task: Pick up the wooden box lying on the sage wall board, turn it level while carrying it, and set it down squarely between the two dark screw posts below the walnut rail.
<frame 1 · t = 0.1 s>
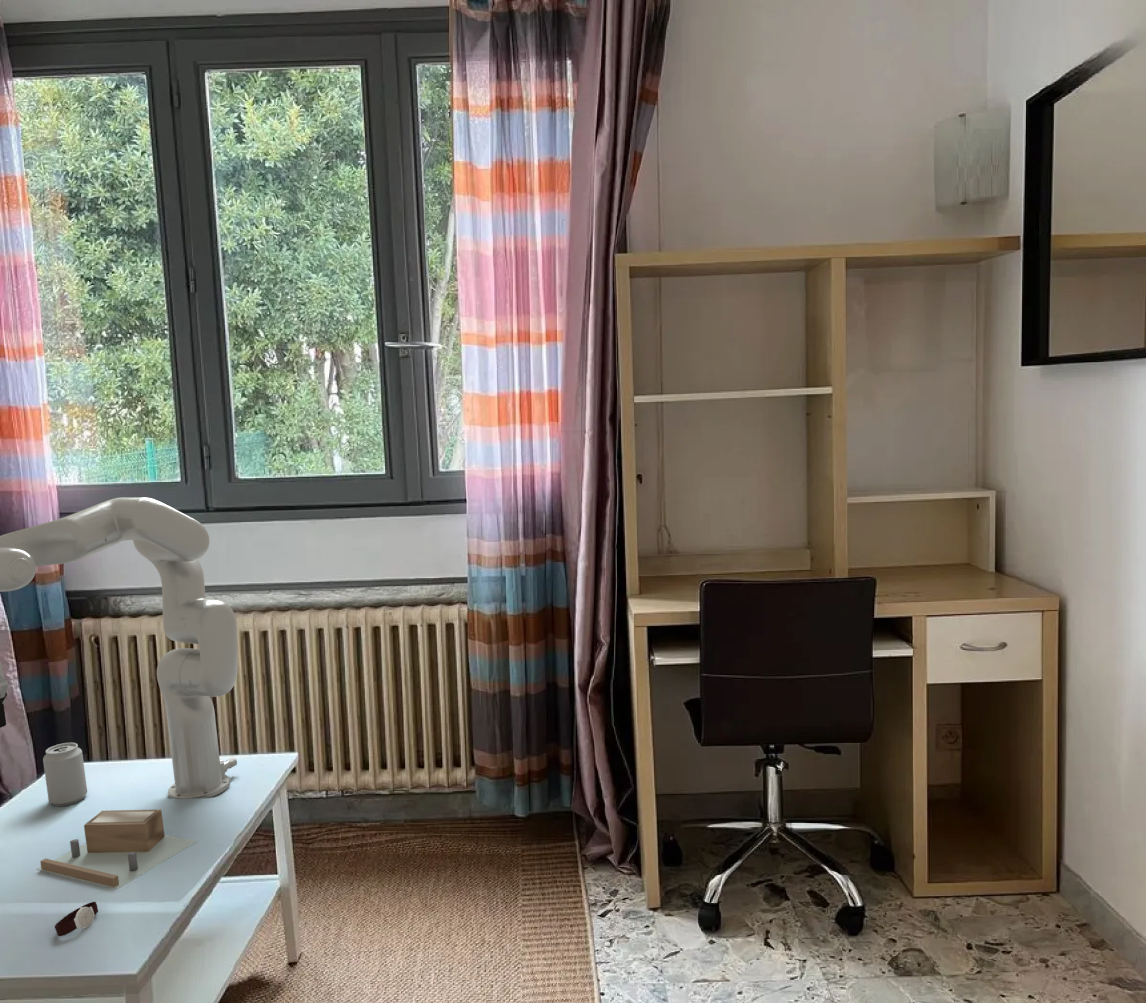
wall board: (119, 861, 178), on the table
watch: (77, 927, 157), on the table
can: (68, 800, 207), on the table
wooden box: (126, 844, 182), point 1 cm above the table, touching wall board
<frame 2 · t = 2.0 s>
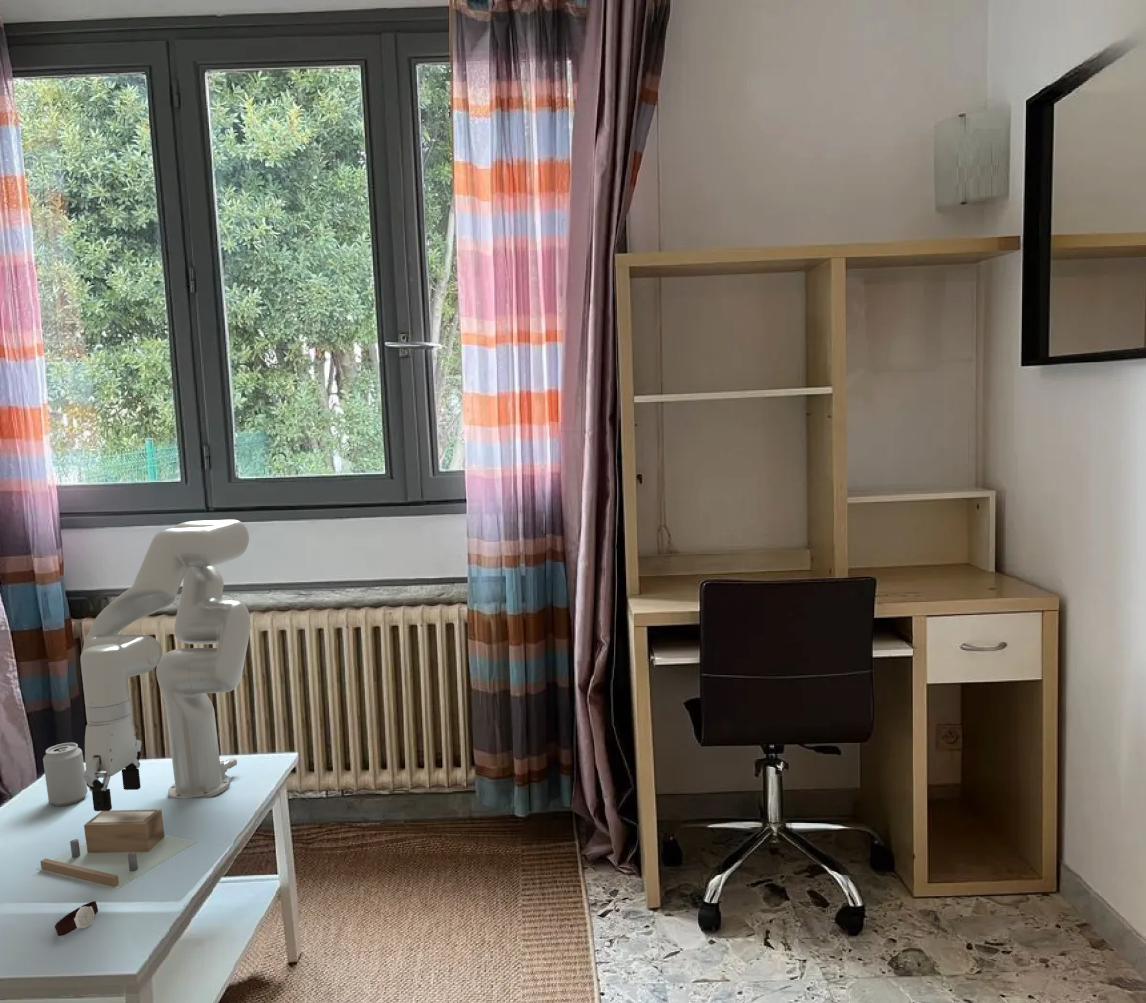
hand: (118, 799, 180), 11 cm above the table, tool pointing down, fingers open, 9 cm apart
nothing on the table moved.
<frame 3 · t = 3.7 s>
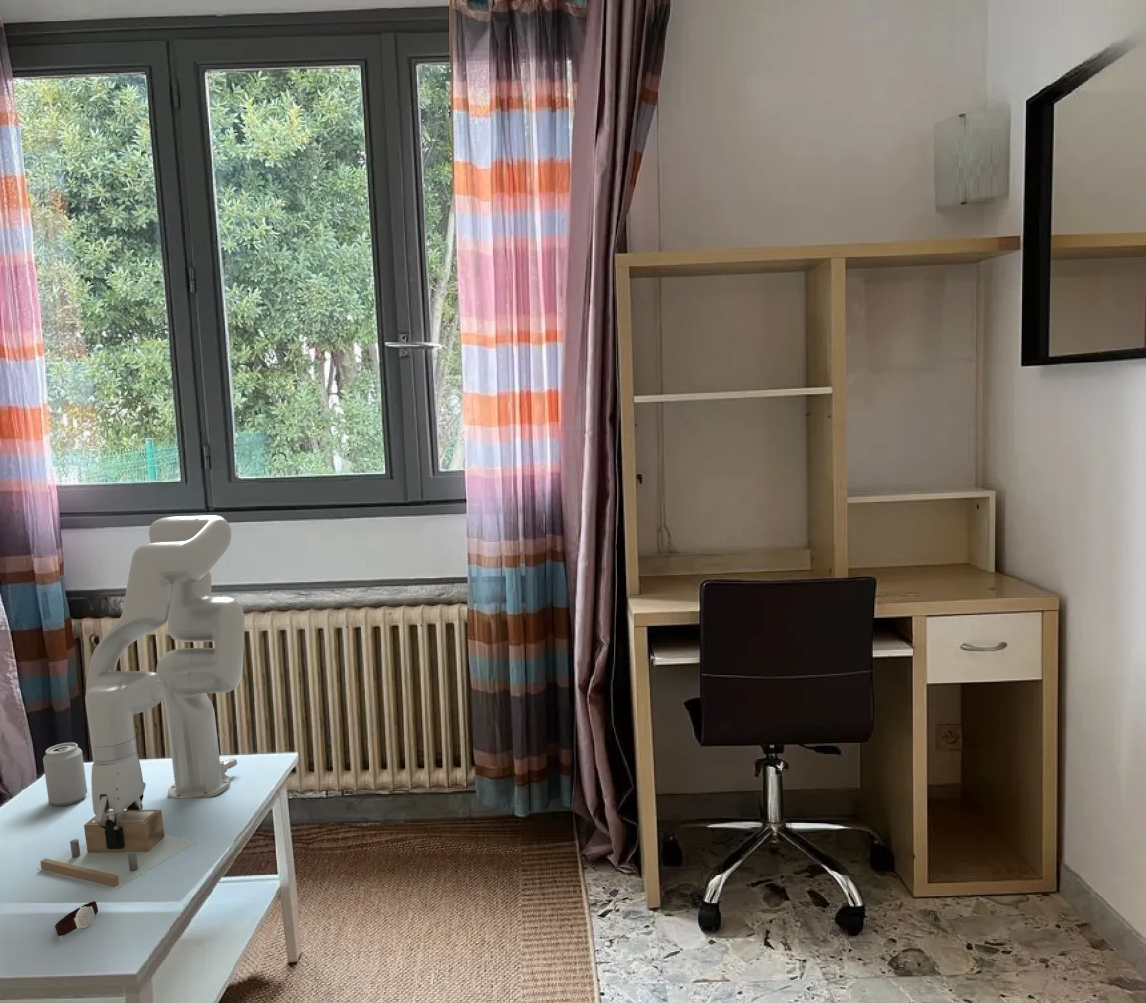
hand: (125, 838, 182), 2 cm above the table, tool pointing down, fingers closed on wooden box, 6 cm apart
wooden box: (126, 844, 182), point 1 cm above the table, touching gripper, wall board
everything else where it was.
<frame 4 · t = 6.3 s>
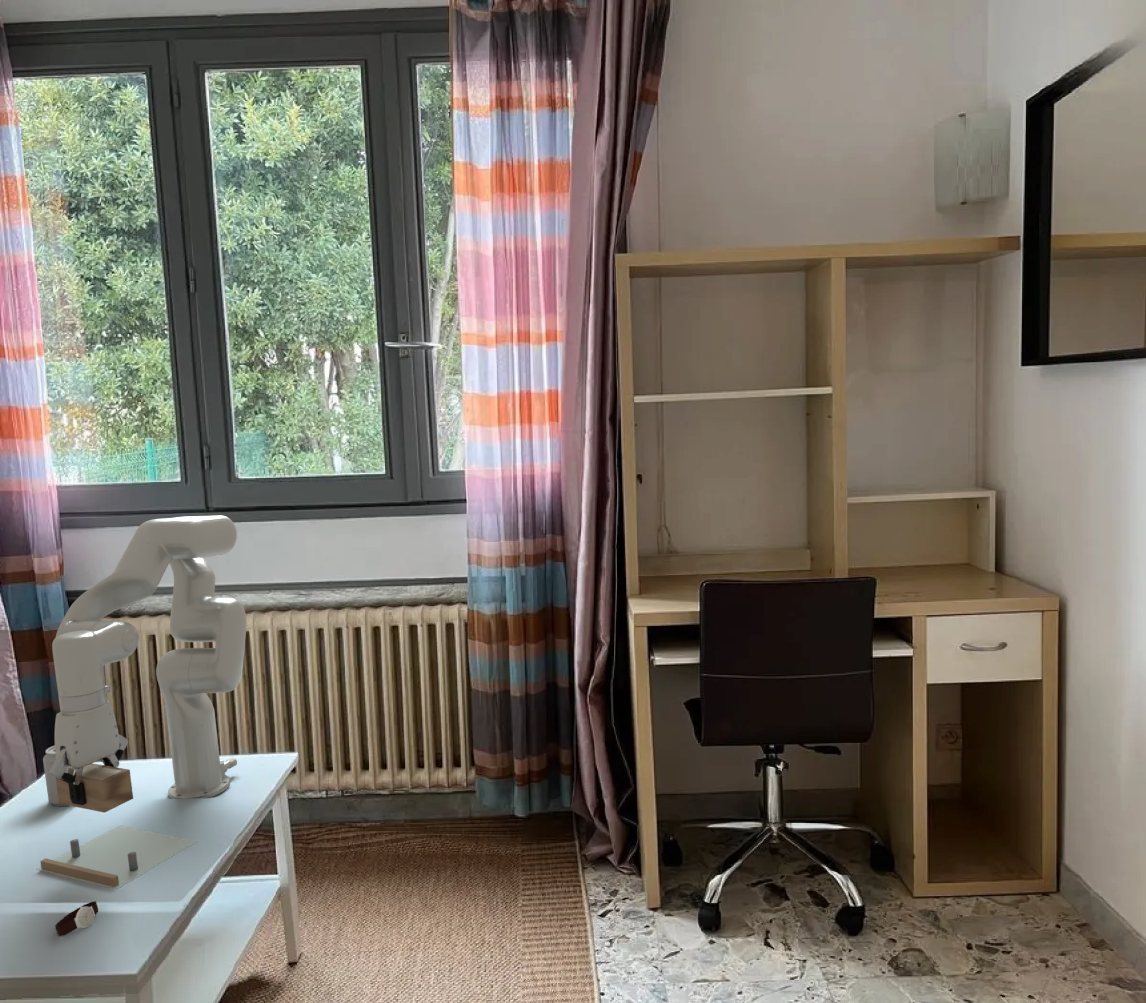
hand: (95, 795, 174), 14 cm above the table, tool pointing down, fingers closed on wooden box, 6 cm apart
wooden box: (96, 801, 174), point 13 cm above the table, touching gripper
everything else where it was.
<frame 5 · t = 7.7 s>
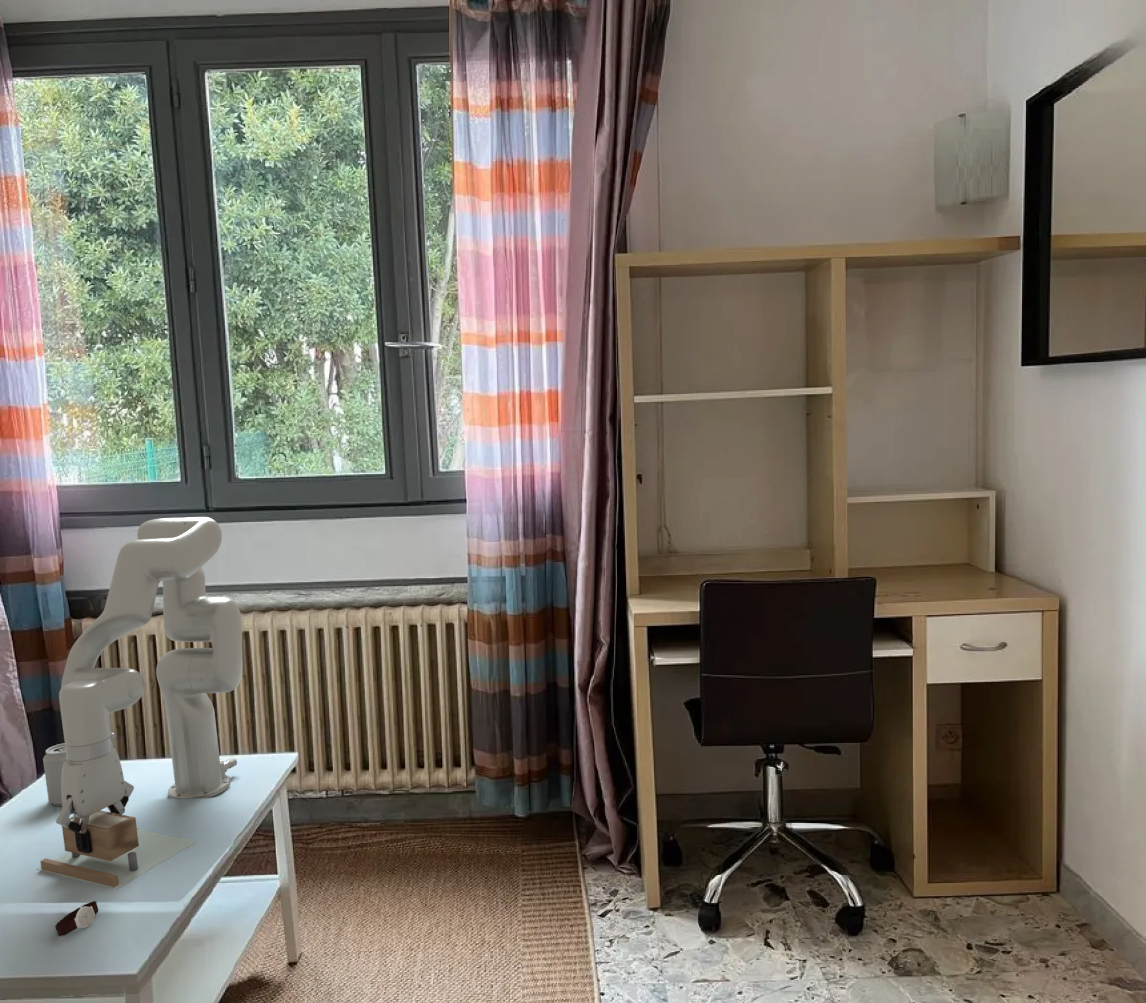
hand: (101, 842, 175), 5 cm above the table, tool pointing down, fingers closed on wooden box, 6 cm apart
wooden box: (102, 848, 175), point 4 cm above the table, touching gripper
everything else where it was.
when the fingers open (4 cm above the table, at t = 8.9 s): wooden box drops 1 cm, resting on wall board.
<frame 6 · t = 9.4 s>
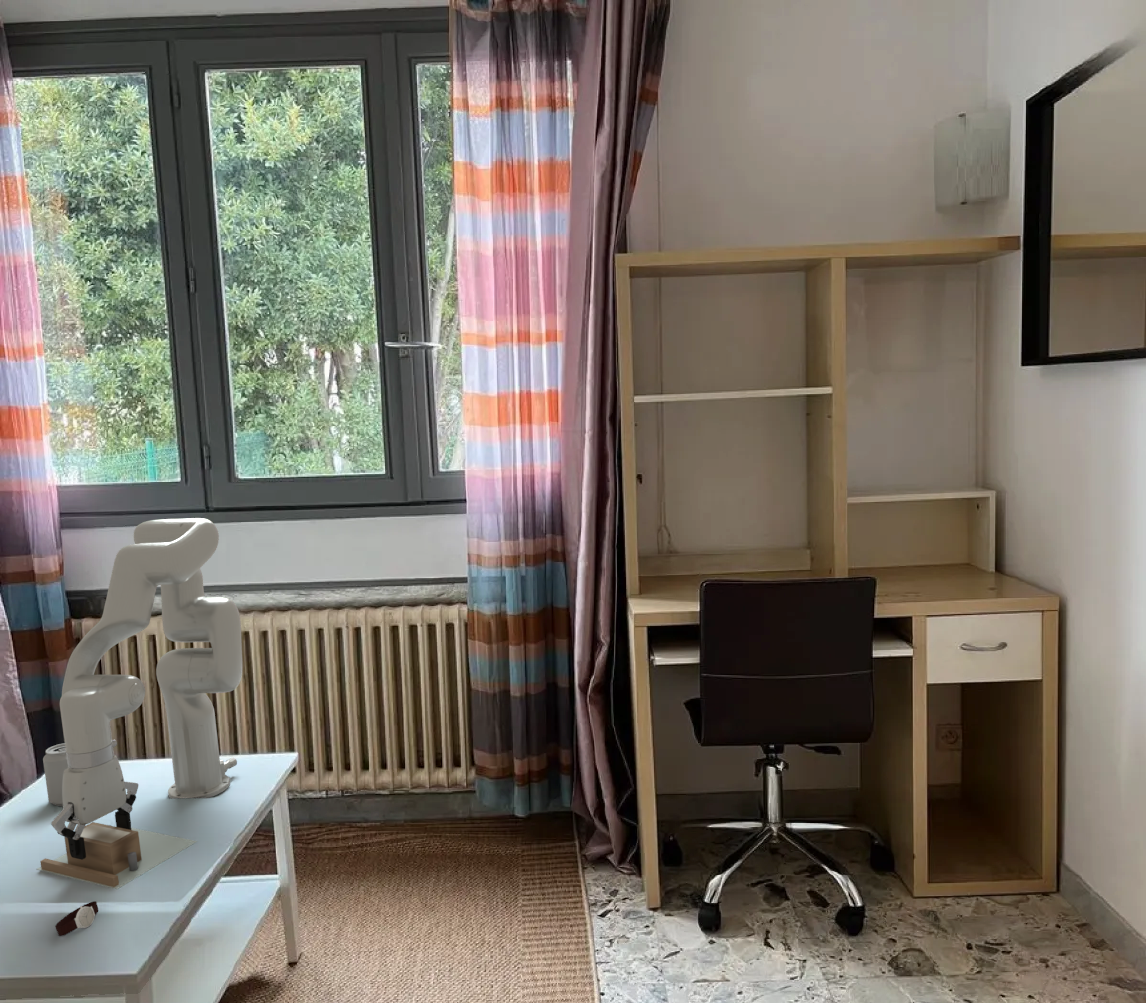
hand: (102, 845, 175), 5 cm above the table, tool pointing down, fingers open, 9 cm apart
wooden box: (105, 862, 175), point 1 cm above the table, touching wall board
everything else where it was.
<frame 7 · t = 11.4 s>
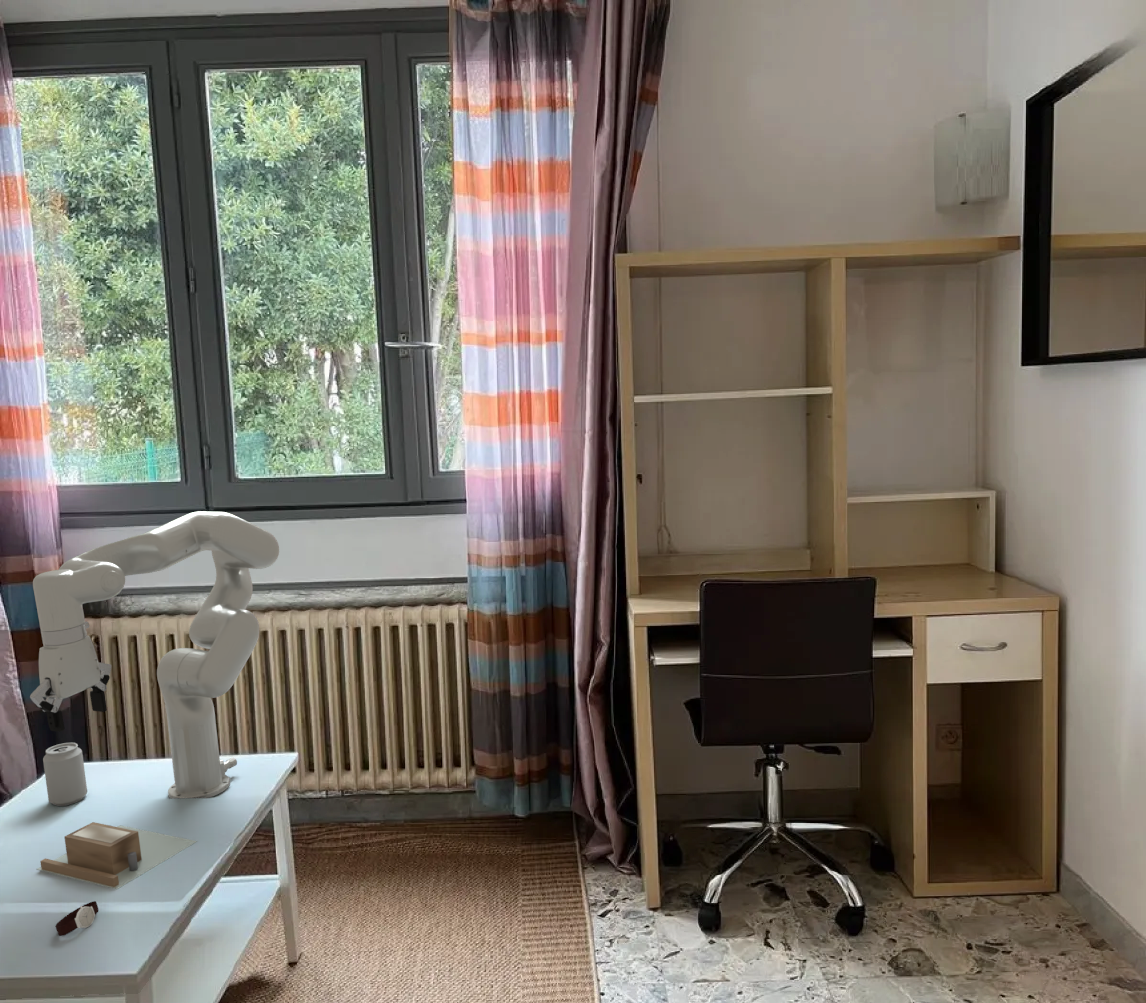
hand: (79, 720, 184), 25 cm above the table, tool pointing down, fingers open, 9 cm apart
nothing on the table moved.
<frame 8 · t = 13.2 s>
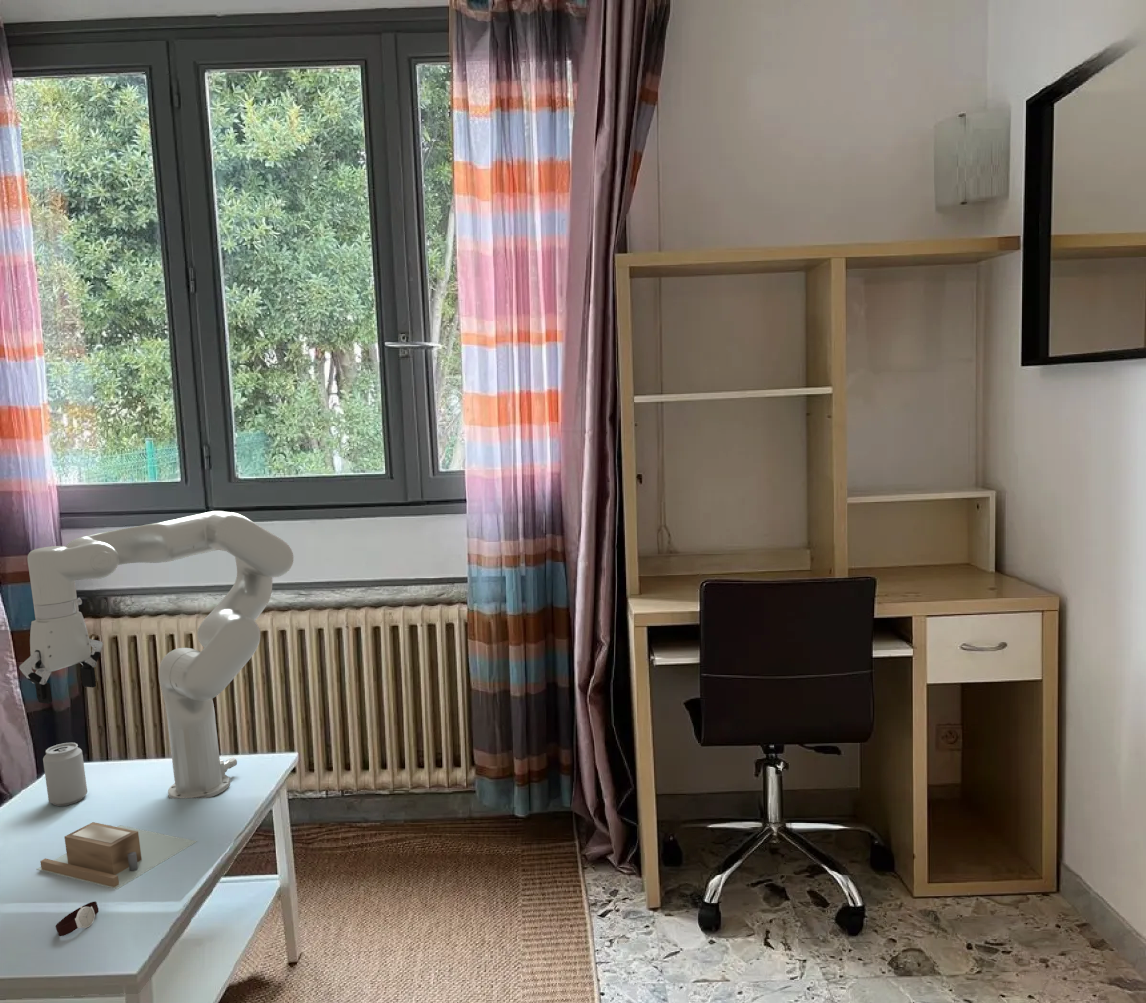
hand: (67, 694, 188), 28 cm above the table, tool pointing down, fingers open, 9 cm apart
nothing on the table moved.
at the end: wooden box 0.1 cm from the target spot on the wall board, point 1.2 cm above the wall board's base; wooden box tilted 0°; the gripper is holding nothing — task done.
